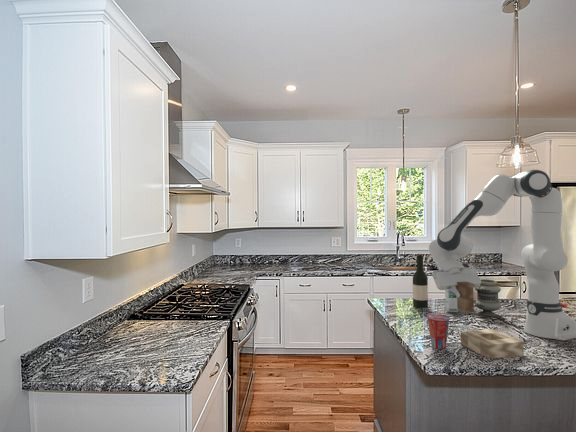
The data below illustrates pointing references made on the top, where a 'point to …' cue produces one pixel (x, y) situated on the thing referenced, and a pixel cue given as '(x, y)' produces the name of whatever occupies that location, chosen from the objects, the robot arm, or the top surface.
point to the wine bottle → (420, 285)
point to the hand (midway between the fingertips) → (466, 296)
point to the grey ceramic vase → (488, 298)
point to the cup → (438, 330)
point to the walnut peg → (465, 297)
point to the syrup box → (451, 301)
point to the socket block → (492, 343)
